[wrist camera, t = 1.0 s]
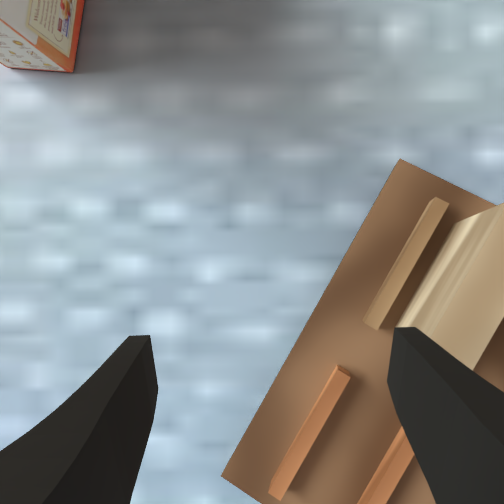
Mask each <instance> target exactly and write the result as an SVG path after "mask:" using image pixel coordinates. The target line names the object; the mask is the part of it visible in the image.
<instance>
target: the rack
mask: <svg viewBox="0 0 504 504" xmlns="http://www.w3.org/2000/svg"><path fill="white" fill-rule="evenodd" d="M495 206H496V205H494V204H492V203H490V202H488V201H486V200H484V199H482V198H480V197H478V196H476V195H474V194H472V193H470V192H468V191H466V190H463V189H461V188H459V187H457V186H455V185H453V184H451V183H449V182H447V181H445V180H443V179H441V178H439V177H437V176H435V175H433V174H431V173H428V172H426V171H424V170H422V169H420V168H418V167H416V166H414V165H412V164H410V163H408V162H406V161H404V160H402V159H399V161H398V162H397V164H396V165H395V167H394V169H393V171H392V172H391V174H390V176H389V178H388V180H387V181H386V183H385V185H384V187H383V188H382V190H381V192H380V194H379V196H378V197H377V199H376V201H375V203H374V204H373V206H372V208H371V210H370V212H369V213H368V215H367V217H366V219H365V220H364V222H363V224H362V226H361V228H360V229H359V231H358V233H357V235H356V236H355V238H354V240H353V242H352V244H351V245H350V247H349V249H348V251H347V252H346V254H345V256H344V258H343V259H342V261H341V263H340V265H339V267H338V268H337V270H336V272H335V274H334V275H333V277H332V279H331V281H330V283H329V284H328V286H327V288H326V290H325V291H324V293H323V295H322V297H321V299H320V300H319V302H318V304H317V306H316V307H315V309H314V311H313V313H312V315H311V316H310V318H309V320H308V322H307V323H306V325H305V327H304V329H303V330H302V332H301V334H300V336H299V338H298V339H297V341H296V343H295V345H294V346H293V348H292V350H291V352H290V354H289V355H288V357H287V359H286V361H285V362H284V364H283V366H282V368H281V370H280V371H279V373H278V375H277V377H276V378H275V380H274V382H273V384H272V386H271V387H270V389H269V391H268V393H267V394H266V396H265V398H264V400H263V402H262V403H261V405H260V407H259V409H258V410H257V412H256V414H255V416H254V417H253V419H252V421H251V423H250V425H249V426H248V428H247V430H246V432H245V433H244V435H243V437H242V439H241V441H240V442H239V444H238V446H237V448H236V449H235V451H234V453H233V455H232V457H231V458H230V460H229V462H228V464H227V465H226V467H225V469H224V471H223V473H222V475H221V477H223V478H224V479H226V480H227V481H229V482H230V483H232V484H233V485H235V486H236V487H238V488H239V489H241V490H242V491H244V492H245V493H247V494H248V495H249V496H251V497H252V498H254V499H255V500H257V501H258V502H260V503H261V504H436V503H435V500H434V497H433V495H432V493H431V490H430V488H429V485H428V483H427V481H426V478H425V476H424V474H423V472H422V470H421V467H420V465H419V463H418V461H417V459H416V456H415V454H414V452H413V450H412V448H411V445H410V443H409V441H408V439H407V436H406V434H405V432H404V430H403V427H402V425H401V423H400V421H399V418H398V416H397V414H396V411H395V408H394V404H393V401H392V398H391V394H390V391H389V387H388V384H387V376H388V369H389V362H390V355H391V348H392V341H393V334H394V327H395V326H396V325H397V323H398V321H399V319H400V318H401V316H402V314H403V312H404V310H405V309H406V307H407V305H408V303H409V302H410V300H411V298H412V296H413V295H414V293H415V291H416V289H417V288H418V286H419V284H420V282H421V281H422V279H423V277H424V275H425V274H426V272H427V270H428V268H429V267H430V265H431V263H432V261H433V260H434V258H435V256H436V254H437V253H438V251H439V249H440V247H441V246H442V244H443V242H444V240H445V239H446V237H447V235H448V233H449V232H450V230H451V228H452V226H453V225H454V223H457V222H459V221H461V220H464V219H466V218H469V217H471V216H473V215H476V214H478V213H481V212H483V211H485V210H488V209H490V208H493V207H495ZM473 371H474V372H475V373H477V374H478V375H479V376H481V377H482V378H484V379H485V380H486V381H488V382H489V383H491V384H492V385H494V386H495V387H497V388H498V389H500V390H501V391H503V392H504V317H503V319H502V321H501V322H500V324H499V326H498V327H497V329H496V331H495V333H494V334H493V336H492V338H491V340H490V341H489V343H488V345H487V347H486V348H485V350H484V352H483V353H482V355H481V357H480V359H479V360H478V362H477V364H476V366H475V367H474V369H473Z"/></svg>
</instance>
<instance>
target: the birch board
mask: <svg viewBox="0 0 504 504" xmlns="http://www.w3.org/2000/svg"><path fill="white" fill-rule="evenodd" d="M503 317H504V203H502V204H500V205H497V206H495V207H493V208H490V209H488V210H485V211H483V212H481V213H478V214H476V215H473V216H471V217H469V218H466V219H464V220H461V221H459V222H457V223H454V225H453V226H452V228H451V230H450V232H449V233H448V235H447V237H446V239H445V240H444V242H443V244H442V246H441V247H440V249H439V251H438V253H437V254H436V256H435V258H434V260H433V261H432V263H431V265H430V267H429V268H428V270H427V272H426V274H425V275H424V277H423V279H422V281H421V282H420V284H419V286H418V288H417V289H416V291H415V293H414V295H413V296H412V298H411V300H410V302H409V303H408V305H407V307H406V309H405V310H404V312H403V314H402V316H401V318H400V319H399V321H398V323H397V325H396V326H395V327H416V328H417V329H419V330H420V331H422V332H423V333H424V334H426V335H427V336H428V337H429V338H431V339H432V340H433V341H435V342H436V343H437V344H438V345H440V346H441V347H442V348H443V349H445V350H446V351H447V352H449V353H450V354H451V355H452V356H454V357H455V358H456V359H458V360H459V361H460V362H462V363H463V364H464V365H466V366H467V367H468V368H470V369H471V370H472V371H473V369H474V367H475V366H476V364H477V362H478V360H479V359H480V357H481V355H482V353H483V352H484V350H485V348H486V347H487V345H488V343H489V341H490V340H491V338H492V336H493V334H494V333H495V331H496V329H497V327H498V326H499V324H500V322H501V321H502V319H503Z"/></svg>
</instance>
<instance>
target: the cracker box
mask: <svg viewBox="0 0 504 504" xmlns="http://www.w3.org/2000/svg"><path fill="white" fill-rule="evenodd" d="M83 7H84V0H0V63H1V64H3V65H4V66H5V67H8V68H19V69H32V70H46V71H59V72H71V73H72V72H73V70H74V65H75V58H76V51H77V45H78V39H79V33H80V26H81V19H82V13H83Z"/></svg>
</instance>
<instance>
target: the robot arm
mask: <svg viewBox="0 0 504 504" xmlns="http://www.w3.org/2000/svg"><path fill="white" fill-rule="evenodd" d="M387 384H388V387H389V391H390V394H391V398H392V401H393V404H394V408H395V411H396V414H397V416H398V418H399V421H400V423H401V425H402V427H403V430H404V432H405V434H406V436H407V439H408V441H409V443H410V445H411V448H412V450H413V452H414V454H415V456H416V459H417V461H418V463H419V465H420V467H421V470H422V472H423V474H424V476H425V478H426V481H427V483H428V485H429V488H430V490H431V493H432V495H433V497H434V500H435V503H436V504H504V392H503V391H501V390H500V389H498V388H497V387H495V386H494V385H492V384H491V383H489V382H488V381H486V380H485V379H484V378H482V377H481V376H479V375H478V374H477V373H475V372H474V371H472V370H471V369H470V368H468V367H467V366H466V365H464V364H463V363H462V362H460V361H459V360H458V359H456V358H455V357H454V356H452V355H451V354H450V353H449V352H447V351H446V350H445V349H443V348H442V347H441V346H440V345H438V344H437V343H436V342H435V341H433V340H432V339H431V338H429V337H428V336H427V335H426V334H424V333H423V332H422V331H420V330H419V329H417V328H416V327H394V334H393V341H392V348H391V355H390V362H389V369H388V376H387ZM157 394H158V384H157V377H156V371H155V364H154V358H153V351H152V345H151V338H150V335H140V336H129V337H128V338H127V339H126V340H125V341H124V342H123V343H122V344H121V345H120V346H119V347H118V348H117V349H116V350H115V352H114V353H113V354H112V355H111V356H110V357H109V358H108V359H107V360H106V361H105V362H104V363H103V364H102V365H101V367H100V368H99V369H98V370H97V371H96V372H95V373H94V374H93V375H92V376H91V377H90V378H89V379H88V380H87V381H86V382H85V383H84V384H83V385H82V386H81V387H80V388H79V389H78V390H77V391H76V392H74V393H73V394H72V395H71V396H70V397H69V398H68V399H67V400H66V401H65V402H64V403H63V404H62V405H60V406H59V407H58V408H57V409H56V410H55V411H53V412H52V413H51V414H50V415H49V416H47V417H46V418H45V419H44V420H42V421H41V422H40V423H39V424H37V425H36V426H35V427H33V428H32V429H31V430H30V431H28V432H27V433H26V434H24V435H23V436H21V437H20V438H19V439H17V440H16V441H14V442H13V443H11V444H10V445H8V446H7V447H6V448H4V449H3V450H1V451H0V504H130V501H131V497H132V493H133V489H134V486H135V483H136V479H137V476H138V472H139V469H140V466H141V462H142V459H143V455H144V452H145V448H146V445H147V441H148V438H149V434H150V431H151V427H152V424H153V419H154V414H155V408H156V401H157Z"/></svg>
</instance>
